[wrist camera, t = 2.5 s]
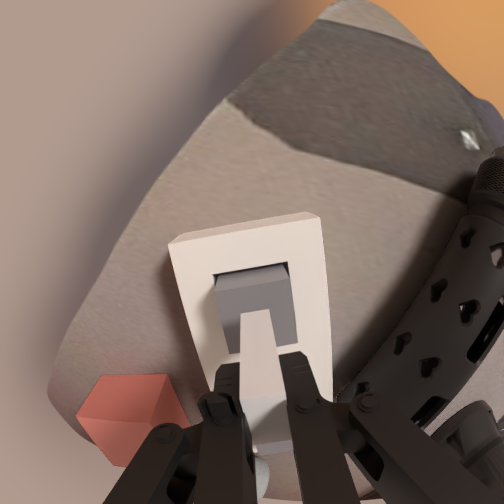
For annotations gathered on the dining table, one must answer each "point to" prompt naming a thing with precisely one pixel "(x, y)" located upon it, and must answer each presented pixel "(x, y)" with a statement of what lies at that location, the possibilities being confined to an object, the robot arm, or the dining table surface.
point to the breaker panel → (247, 256)
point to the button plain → (275, 447)
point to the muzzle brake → (447, 312)
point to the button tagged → (256, 302)
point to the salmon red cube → (129, 413)
